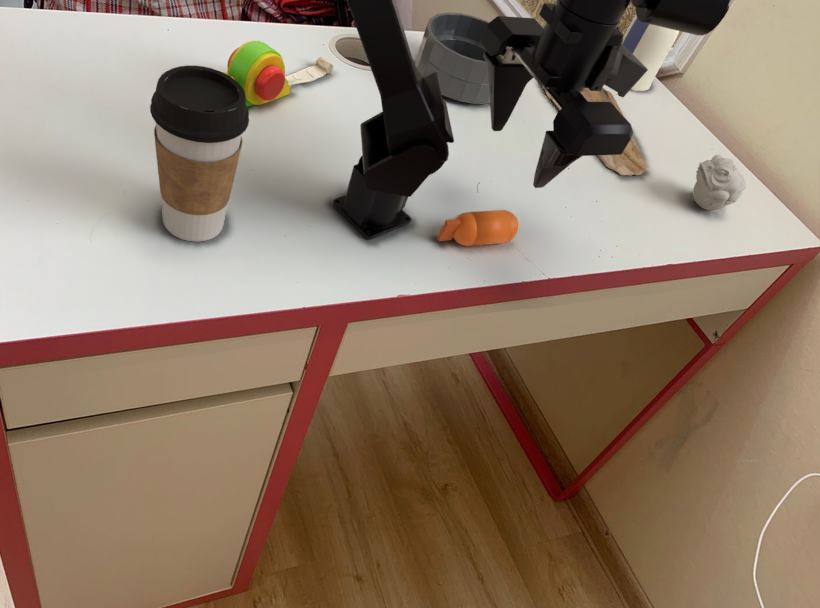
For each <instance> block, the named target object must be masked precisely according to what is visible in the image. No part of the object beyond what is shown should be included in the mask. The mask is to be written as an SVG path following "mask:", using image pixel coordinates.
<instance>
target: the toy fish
mask: <svg viewBox="0 0 820 608" xmlns="http://www.w3.org/2000/svg"><path fill="white" fill-rule="evenodd" d="M519 226H520V224H519V220H518V218H517V216H516V215H515V214H514V213H513V212H511V211H509V210H507V209H496V210H479V211H465V212H462V213H460V214H458V215H457V216H455V218H454V219H446V220H444V223H443V225H442V227H441V228H440V230H439V232H438V234H437V235H436V238H437V241H438V242H445V241H452V239H454V240H455V242H456V243H457V244H459V245H461V246H466V247H467V246H470V247H471V246H481V245H494V244H495V245H496V244H505V243H508V242H511V241H512V240H514V238H515V237H516V236H517V234H518V232H519Z"/></svg>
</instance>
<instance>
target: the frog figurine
mask: <svg viewBox="0 0 820 608" xmlns="http://www.w3.org/2000/svg"><path fill="white" fill-rule="evenodd" d="M695 179H696V182H695V184H694V186H693V190H692V194H693V195H692V196H693V200H694V201H695V203H696V204H697V205H698V206H699V207H700V208H702V209H704V210H707V211H718V210H722V209H724V208H726V207H728V205H732V204H734V203H736V202H737V201H738V200H739V199H740V197H741V196H742V195H743V191H744V190H745V189H746V188H747V183H746V180H745V178H744V176H743V175H742V173H741V172H740V171H739V169H738V168H737V167H736V164H735V163H734V160H733V159H730V158H726V157H724V156H723V155H722V154H715V155H714V156H712V157H711V159H706V160H704V161H703V162H699V164H698V167H697V170H696V176H695Z"/></svg>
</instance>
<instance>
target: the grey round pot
mask: <svg viewBox="0 0 820 608" xmlns="http://www.w3.org/2000/svg"><path fill="white" fill-rule="evenodd" d="M489 22H490V21H488V20H486V19H483V18H481V17H478V16H475V15H472V14H471V15H470V14H465V13H460V12H442V13H438V14H435V15H432V16H431V17H430V18H429V19H428V21H427V24H426V26H425V30H424V33H423V36H422V39H421V41H420V46H419V50H418V52H417V56H416V59H415V62H414V64H415V66H416V67H417V69H418V70H419V72H420V73H421V74H422V76H423V77H426V76H428V75H430V74H432V73H434V72H437V75H438V80H439V85H440V90H441V95H442V96H444V97H446V98H449V99H451V100H455V101H458V102H462V103H468V104H473V105H480V104H482V105H485V104H490V95H489V83H488V74H487V65H486V60H485V58H484V52H485V51H486V49H485V48H484V47H483V46H482V44H481V43H480V40H481V38H482V35H483V33H484V30H485V27H486V25H487V24H488V23H489Z"/></svg>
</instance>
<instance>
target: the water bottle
mask: <svg viewBox="0 0 820 608" xmlns="http://www.w3.org/2000/svg"><path fill="white" fill-rule="evenodd" d="M679 34H680V31H677V30H673V29H669V28H664V27H660V26H656V25H652V24H647V23H643V22H641V21H639V20H638V18H637V15H636V14H635V15H634V16H633V18H632V20H631V21H630V24H629V25H628V28H627V29H626V31H625V33H624V34H623V35H624V36H623V42H622V45H624V46H625V47H626V48H627V49H628V50H629V51H630V52H631V53H632V54H633V55H634V56H635V57H636V58H637V59H638V60H639V61H640V62H641V63H642V64H643V65H644V66H645V67H646V68H647V69H648V71H647V72H646V73H645V74H644V75H643V76H642V77H641V78H640V80H639V81H638V82H637V83H636V84H635V85H634V86H633V87H632V88H631V90H630V91H635V92H646V91H648V90H649V89H650V88H651V86H652V84H653V82H654V80H655V78H656V76H657V75H658V72H659V70H660V69H661V67H662V65H663V63H664V61H665V59H666V57H667V56H668V54H669V52H670V50H671V49H672V47H673V45H674V43H675V41H676V40H677V38H678V36H679Z"/></svg>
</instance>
